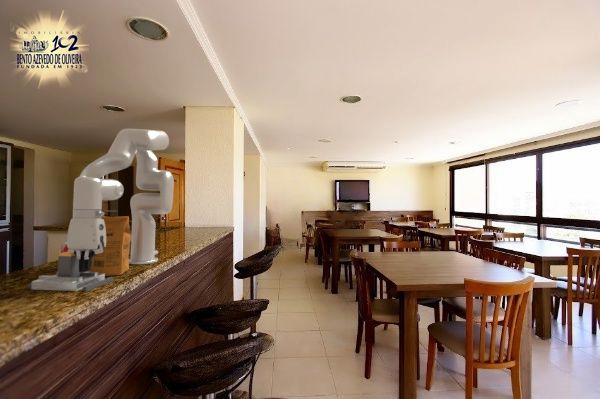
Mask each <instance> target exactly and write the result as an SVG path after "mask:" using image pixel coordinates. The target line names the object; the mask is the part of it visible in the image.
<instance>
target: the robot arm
mask: <svg viewBox="0 0 600 399" xmlns="http://www.w3.org/2000/svg"><path fill="white" fill-rule="evenodd" d="M169 145H170V138H169V135H168V134H167V133H166V132H165V131H164V130H156V129H155V130H154V129H145V128H143V129H141V128H122V129H121V130H120V131H119V132H118V133H117V135H116V137H115V138H114V141H113V142H112V144H111V146H110V148H109V149H108V152H107V153H106V154H104V155H103V156H100V157H99V158H97V159H95V160H94V161H92V162H91V163H89V164H88V165H86V167H84V169H83V170H82V171H81V173H80V175H79V176H78V177H76V178H75V179H74V182H73V200H72V206H73V207H72V218H71V219H70V222H69V225H68V229H67V237H66V238H67V239H66V242H67V247H68V248H69V250H68V252H70V253H74V254H75V255H76V256H77V259H79V272H90V270H91V267H92V258H94V256H95V255H96V254H99V253H103V248H104V247H106V227H105V222H104V219H101V217H102V216H105V212H104V211H103V210H102V209H103V208H102V207H103V201H115V200H119V199H120V198H121V197H122V196H123V194H124V190H125V188H124V185H123V184H122V183H121V181H119V180H117V179H113V178H103V177H105V176H106V175H108V174H111V173H115V172H118V171H121V170H124V169H127V168H129V167H130V166H131V165H132V164H133V160H134V158H135V157H136V173H135V185H136V188H138V189H139V190H142V191H156V192H157V191H159V192H160V193H154V192H153V193H152V192H140V193H135V194H134V195H132V196H131V198H130V201H129V202H130V203H129V204H130V210H131V211H130V212H131V236H130V258H129V265H148V264H149V265H150V264H154V263H156V262H158V261H159V258H158V257H155V256H156V255H158V254H159V251H158V250H156V249H155V246H156V227H157V226H156V225H157V224H156V221H155V219H154V217H153V216H152V215H168V214H170V213H171V211H172V209H173V204H174V190H175V187H174V186H175V181H174V180H175V179H174V176H173V174H172V173H171V171H169V170H162V169H158V166H159V165H158V162H159V160H158V157H157V156H156V154H155V153H154V152H153V151H164V150H166V149H167V148H168V147H169Z"/></svg>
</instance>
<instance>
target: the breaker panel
mask: <svg viewBox="0 0 600 399" xmlns="http://www.w3.org/2000/svg"><path fill="white" fill-rule="evenodd" d="M105 277H106V276H105V273H97V272H90V271H86V272H80V275H79V276H76V277H74V276H58V270H57V271H56V274H53V275H39V276H38V279H36V280H35V279H34V280H32V281H31V283H32V287H31V288H30V289H31V290H40V291H64V292H65V291H66V292H67V291H68V292H69V291H70V292H77V291H80V290H83V287H85V286H87V285H90V284H93V283H96V282H98V281H101V280H104V279H106V278H105Z"/></svg>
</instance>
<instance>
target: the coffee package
mask: <svg viewBox="0 0 600 399" xmlns="http://www.w3.org/2000/svg"><path fill="white" fill-rule="evenodd" d="M101 219H104V222H105V227H106V247H104V248H103V253H99V254H96V255H95V256H94V258H92V267H91V270H90V271H89V272H97V273H105V277H114V276H122V275H123V274H124V273H126V272H127V271H129V269H130V264H129V259H130V258H129V255H130V249H131V231H130V230H131V228H130V223H129V222H130V217H129V215H128V216H127V215H126V216H113V217H112V216H105V215H104V216H102V217H101Z"/></svg>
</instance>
